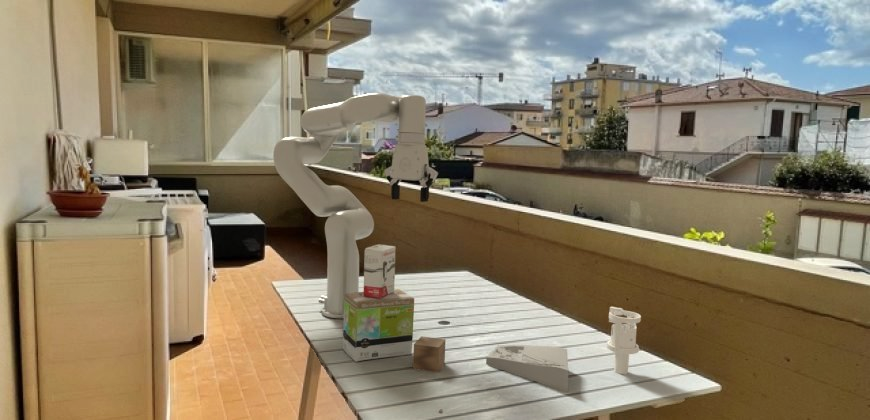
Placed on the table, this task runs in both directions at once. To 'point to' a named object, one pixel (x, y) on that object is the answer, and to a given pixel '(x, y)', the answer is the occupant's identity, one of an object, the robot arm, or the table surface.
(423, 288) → the table surface
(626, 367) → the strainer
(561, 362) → the ramp
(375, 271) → the ink box
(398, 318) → the tea box
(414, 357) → the walnut block
